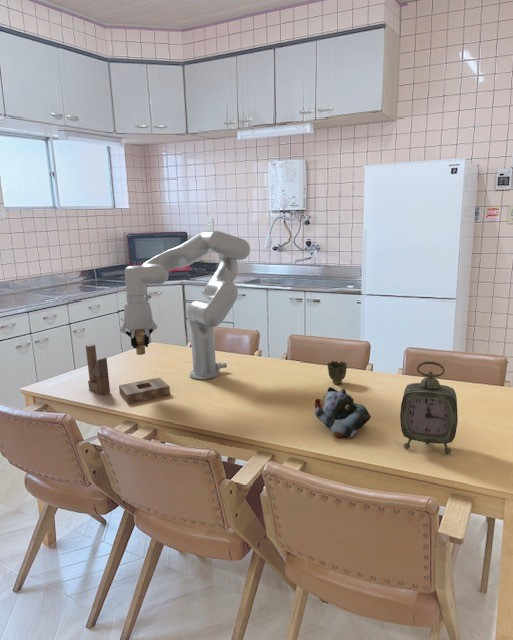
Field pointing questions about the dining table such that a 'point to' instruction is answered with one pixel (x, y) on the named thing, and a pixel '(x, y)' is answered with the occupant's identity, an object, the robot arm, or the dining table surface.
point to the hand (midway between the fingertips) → (140, 346)
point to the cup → (337, 371)
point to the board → (144, 390)
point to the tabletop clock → (429, 411)
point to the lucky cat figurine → (341, 413)
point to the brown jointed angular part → (97, 371)
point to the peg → (140, 341)
